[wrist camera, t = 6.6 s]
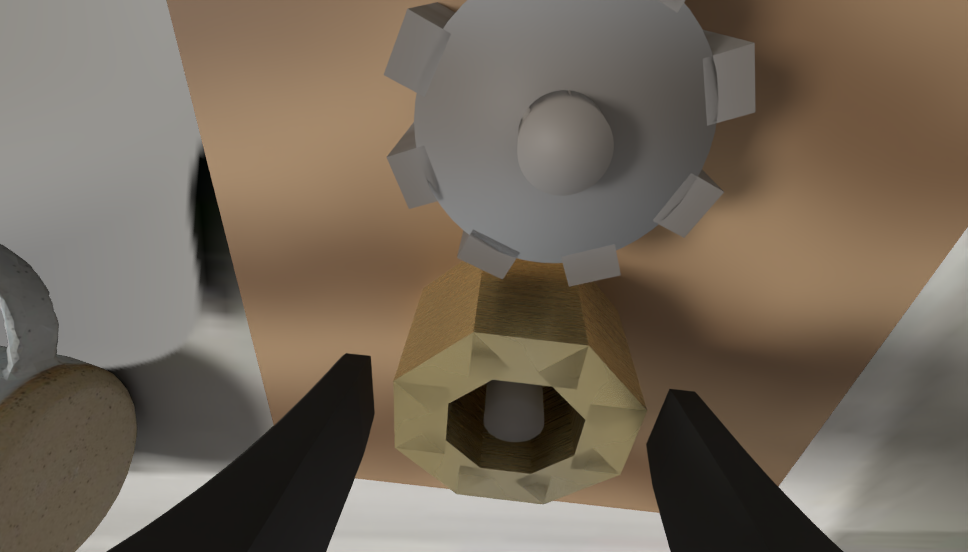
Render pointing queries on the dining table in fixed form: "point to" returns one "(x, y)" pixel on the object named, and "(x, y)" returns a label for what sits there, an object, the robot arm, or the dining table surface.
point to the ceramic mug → (54, 426)
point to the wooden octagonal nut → (523, 359)
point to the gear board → (676, 297)
